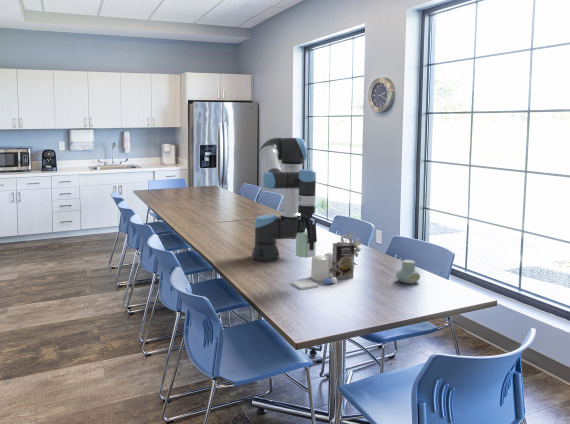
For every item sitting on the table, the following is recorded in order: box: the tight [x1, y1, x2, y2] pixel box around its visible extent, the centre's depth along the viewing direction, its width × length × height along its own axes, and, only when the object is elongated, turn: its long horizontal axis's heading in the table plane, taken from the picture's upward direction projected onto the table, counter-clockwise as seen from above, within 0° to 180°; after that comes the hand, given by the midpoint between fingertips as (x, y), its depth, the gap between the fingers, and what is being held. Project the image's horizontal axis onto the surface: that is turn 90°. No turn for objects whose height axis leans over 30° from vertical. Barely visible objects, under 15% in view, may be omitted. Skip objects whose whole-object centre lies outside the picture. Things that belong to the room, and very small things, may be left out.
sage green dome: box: [295, 230, 317, 259], centre depth 233 cm, size 8×8×10 cm
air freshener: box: [395, 259, 421, 285], centre depth 243 cm, size 11×8×10 cm
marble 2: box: [330, 276, 338, 285], centre depth 240 cm, size 3×3×3 cm
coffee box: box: [331, 242, 356, 280], centre depth 250 cm, size 9×6×16 cm
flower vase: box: [323, 232, 363, 271], centre depth 267 cm, size 13×18×25 cm
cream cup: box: [310, 255, 331, 282], centre depth 247 cm, size 8×8×10 cm
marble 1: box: [323, 278, 332, 285], centre depth 239 cm, size 3×3×3 cm
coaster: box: [291, 279, 319, 291], centre depth 237 cm, size 9×9×1 cm
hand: (305, 254), depth 234 cm, fingers closed on sage green dome, 8 cm apart
